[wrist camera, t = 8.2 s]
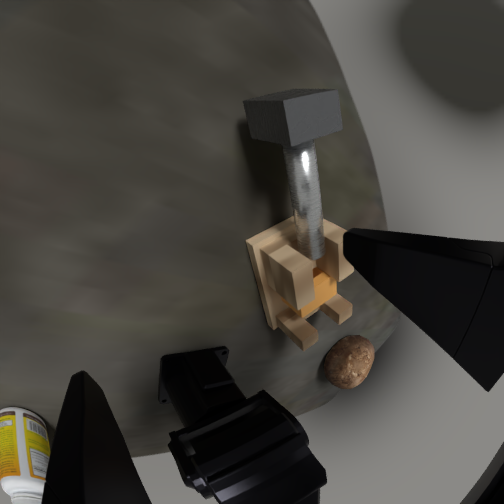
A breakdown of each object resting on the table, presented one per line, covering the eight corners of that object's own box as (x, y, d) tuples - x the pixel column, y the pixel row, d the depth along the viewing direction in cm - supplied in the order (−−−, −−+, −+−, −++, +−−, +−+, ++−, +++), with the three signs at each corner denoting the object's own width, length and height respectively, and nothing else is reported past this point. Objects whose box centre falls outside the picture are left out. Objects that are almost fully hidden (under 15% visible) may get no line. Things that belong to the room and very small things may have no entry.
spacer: (315, 278, 28) (336, 294, 25) (282, 300, 26) (302, 318, 24) (313, 258, 26) (336, 273, 24) (277, 280, 25) (299, 297, 23)
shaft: (314, 230, 24) (349, 250, 21) (275, 252, 23) (309, 277, 20) (293, 88, 17) (337, 89, 14) (242, 101, 16) (283, 100, 13)
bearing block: (321, 288, 31) (355, 313, 27) (267, 324, 28) (299, 355, 25) (314, 205, 25) (358, 225, 21) (245, 240, 23) (285, 270, 19)
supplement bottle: (-3, 428, 16) (8, 518, 8) (-5, 398, 15) (1, 501, 7) (44, 439, 19) (65, 525, 12) (48, 411, 19) (69, 510, 11)
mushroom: (361, 373, 42) (381, 386, 36) (315, 383, 41) (330, 399, 35) (362, 326, 42) (383, 334, 36) (314, 334, 41) (331, 344, 35)
